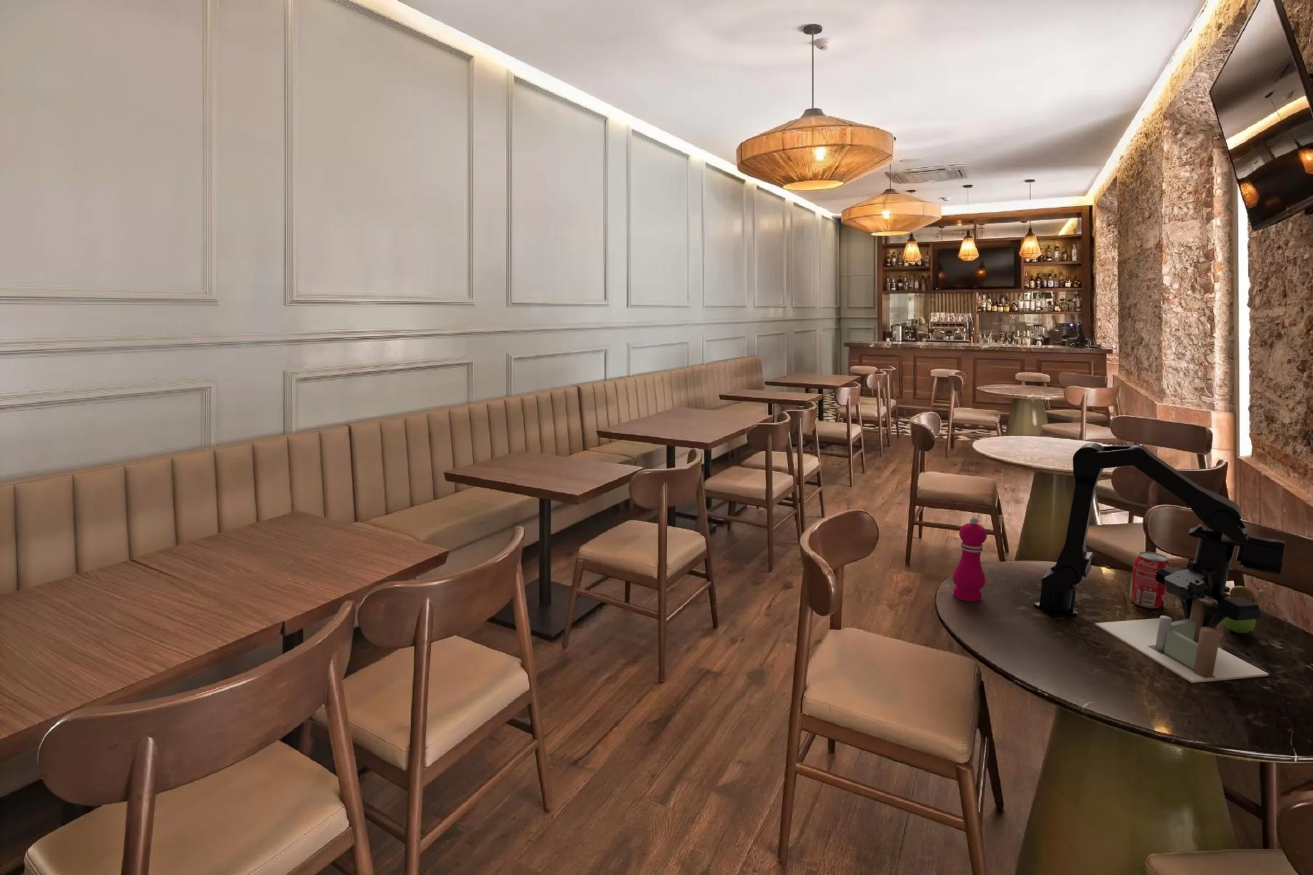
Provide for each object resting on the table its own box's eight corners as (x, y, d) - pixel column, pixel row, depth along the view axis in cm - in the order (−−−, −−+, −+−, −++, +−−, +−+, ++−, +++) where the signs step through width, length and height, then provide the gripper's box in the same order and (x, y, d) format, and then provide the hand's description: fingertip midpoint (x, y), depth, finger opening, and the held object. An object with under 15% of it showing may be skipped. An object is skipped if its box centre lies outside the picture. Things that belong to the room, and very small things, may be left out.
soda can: (1153, 597, 170) (1160, 551, 167) (1171, 610, 163) (1179, 562, 160) (1122, 596, 170) (1129, 549, 168) (1138, 609, 163) (1146, 560, 161)
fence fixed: (1216, 676, 134) (1224, 633, 132) (1203, 678, 133) (1211, 634, 131) (1163, 646, 145) (1169, 606, 143) (1150, 647, 145) (1156, 606, 143)
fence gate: (1173, 650, 143) (1179, 609, 141) (1158, 643, 146) (1165, 602, 144) (1207, 643, 146) (1214, 603, 144) (1192, 636, 149) (1199, 597, 147)
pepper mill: (945, 591, 173) (952, 513, 169) (973, 589, 174) (980, 512, 170) (960, 603, 166) (968, 522, 162) (989, 602, 167) (997, 521, 163)
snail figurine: (1251, 641, 148) (1261, 588, 146) (1216, 629, 154) (1225, 577, 151) (1263, 636, 151) (1273, 584, 148) (1228, 623, 156) (1238, 573, 154)
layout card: (1191, 682, 132) (1192, 680, 132) (1094, 624, 156) (1095, 622, 155) (1268, 675, 135) (1268, 673, 135) (1161, 619, 158) (1162, 617, 158)
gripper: (1140, 544, 150) (1127, 610, 154) (1221, 582, 132) (1204, 656, 136) (1184, 542, 152) (1170, 607, 156) (1271, 579, 134) (1253, 652, 138)
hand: (1196, 629), depth 146 cm, fingers open, 3 cm apart
